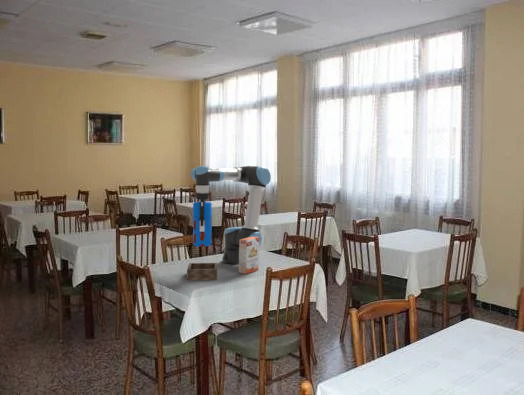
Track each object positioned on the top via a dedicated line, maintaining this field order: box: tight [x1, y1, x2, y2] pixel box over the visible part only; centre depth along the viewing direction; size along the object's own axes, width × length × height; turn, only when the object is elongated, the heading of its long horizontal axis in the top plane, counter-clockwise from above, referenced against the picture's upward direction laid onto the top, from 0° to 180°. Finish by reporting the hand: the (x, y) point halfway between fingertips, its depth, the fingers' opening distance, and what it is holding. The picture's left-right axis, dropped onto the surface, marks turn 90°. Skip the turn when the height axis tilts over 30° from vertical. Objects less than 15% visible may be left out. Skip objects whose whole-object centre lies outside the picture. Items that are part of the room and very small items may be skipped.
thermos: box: [192, 201, 213, 248], centre depth 301 cm, size 11×11×25 cm
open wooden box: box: [186, 262, 218, 281], centre depth 304 cm, size 17×17×6 cm
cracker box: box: [238, 237, 260, 275], centre depth 315 cm, size 14×6×21 cm, turn 147°
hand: (202, 229), depth 301 cm, fingers closed on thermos, 11 cm apart
